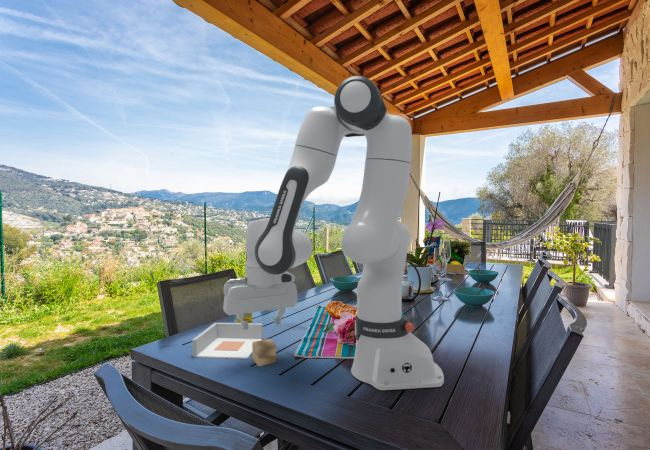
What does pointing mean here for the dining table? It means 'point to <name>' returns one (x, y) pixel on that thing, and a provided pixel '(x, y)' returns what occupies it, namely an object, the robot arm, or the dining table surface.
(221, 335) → the corner arena
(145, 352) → the dining table surface
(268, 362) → the oak cube
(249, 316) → the supplement bottle
